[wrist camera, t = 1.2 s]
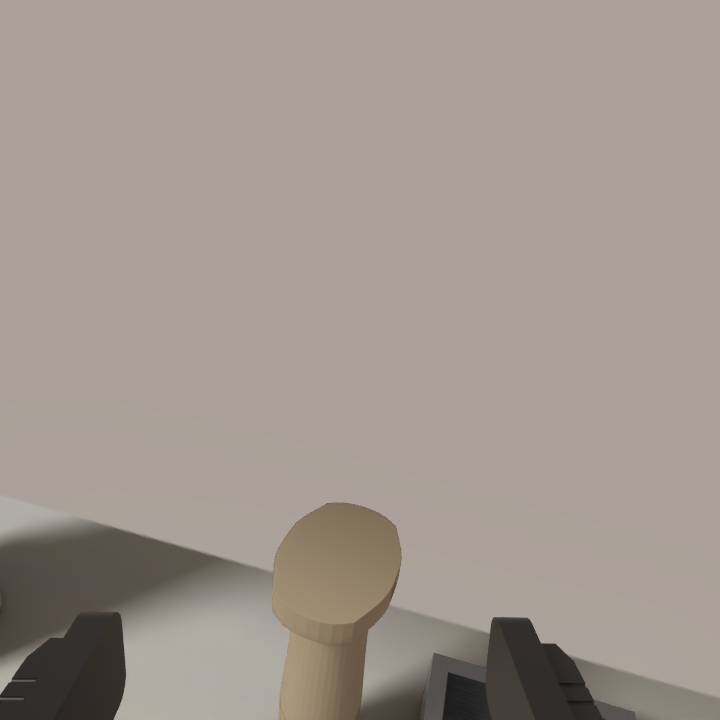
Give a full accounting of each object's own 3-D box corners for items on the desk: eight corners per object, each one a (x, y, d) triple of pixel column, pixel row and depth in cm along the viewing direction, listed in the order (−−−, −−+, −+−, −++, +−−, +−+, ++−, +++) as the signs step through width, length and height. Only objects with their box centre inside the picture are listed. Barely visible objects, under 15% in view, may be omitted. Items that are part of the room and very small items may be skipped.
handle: (374, 724, 33) (416, 524, 26) (331, 852, 27) (370, 642, 20) (296, 690, 34) (316, 490, 27) (240, 807, 29) (247, 594, 22)
